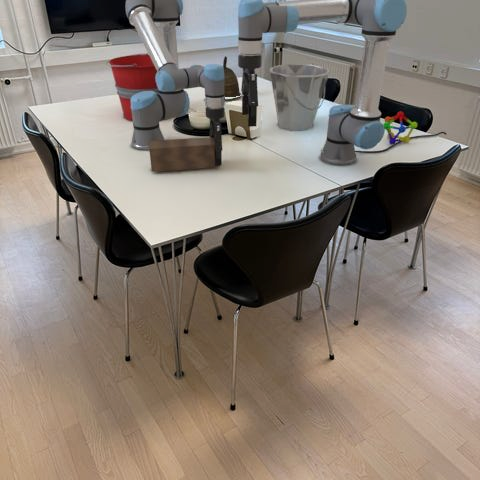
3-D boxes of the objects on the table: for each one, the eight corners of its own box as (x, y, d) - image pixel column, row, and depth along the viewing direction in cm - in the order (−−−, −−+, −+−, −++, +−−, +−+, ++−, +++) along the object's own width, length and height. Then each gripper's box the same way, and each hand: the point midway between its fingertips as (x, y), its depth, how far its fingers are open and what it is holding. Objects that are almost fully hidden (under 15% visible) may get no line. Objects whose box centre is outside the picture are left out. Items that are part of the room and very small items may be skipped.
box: (216, 158, 190) (215, 136, 185) (219, 166, 182) (219, 144, 177) (150, 163, 185) (148, 141, 180) (151, 171, 177) (149, 148, 172)
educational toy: (377, 146, 209) (379, 114, 202) (384, 138, 219) (386, 107, 211) (411, 149, 202) (415, 116, 195) (417, 141, 212) (420, 109, 204)
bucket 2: (296, 138, 215) (301, 78, 201) (255, 124, 234) (256, 68, 219) (335, 125, 232) (342, 70, 217) (294, 113, 251) (297, 61, 236)
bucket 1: (123, 106, 262) (116, 51, 247) (182, 106, 262) (178, 52, 246) (106, 123, 233) (97, 63, 217) (172, 124, 232) (168, 64, 216)
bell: (227, 105, 294) (202, 96, 282) (238, 66, 289) (213, 55, 277) (243, 108, 280) (217, 98, 268) (255, 66, 275) (229, 55, 263)
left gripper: (201, 100, 182) (203, 152, 194) (209, 115, 164) (211, 171, 176) (219, 99, 183) (220, 151, 195) (229, 114, 165) (230, 170, 177)
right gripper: (269, 61, 131) (266, 131, 142) (254, 47, 152) (253, 109, 163) (244, 61, 130) (243, 132, 141) (233, 48, 151) (233, 110, 162)
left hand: (216, 160), depth 185 cm, fingers closed on box, 9 cm apart
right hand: (248, 120), depth 152 cm, fingers open, 13 cm apart
